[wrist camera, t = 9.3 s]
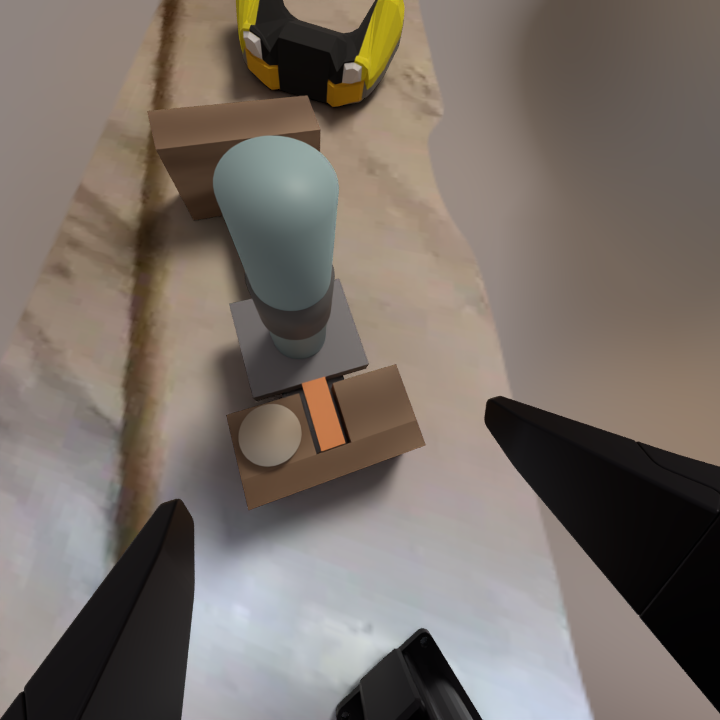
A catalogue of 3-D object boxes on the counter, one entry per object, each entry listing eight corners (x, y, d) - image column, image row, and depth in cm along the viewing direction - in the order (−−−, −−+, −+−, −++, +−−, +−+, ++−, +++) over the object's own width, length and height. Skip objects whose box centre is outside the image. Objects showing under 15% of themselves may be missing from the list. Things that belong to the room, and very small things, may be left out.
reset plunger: (343, 443, 19) (345, 443, 18) (321, 451, 19) (321, 451, 17) (324, 381, 20) (324, 376, 18) (302, 387, 20) (301, 383, 18)
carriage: (365, 368, 20) (438, 253, 8) (256, 400, 19) (153, 318, 7) (337, 287, 22) (366, 87, 10) (233, 311, 20) (112, 110, 8)
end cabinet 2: (406, 445, 22) (428, 445, 17) (261, 498, 20) (246, 512, 15) (382, 378, 23) (398, 361, 18) (242, 421, 21) (223, 414, 16)
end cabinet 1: (319, 198, 26) (320, 129, 20) (193, 220, 24) (155, 149, 18) (309, 170, 27) (307, 95, 21) (186, 188, 25) (147, 111, 19)
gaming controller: (251, 13, 31) (220, 81, 28) (239, -75, 26) (199, -2, 23) (396, 57, 32) (381, 126, 30) (412, -19, 27) (395, 57, 24)
